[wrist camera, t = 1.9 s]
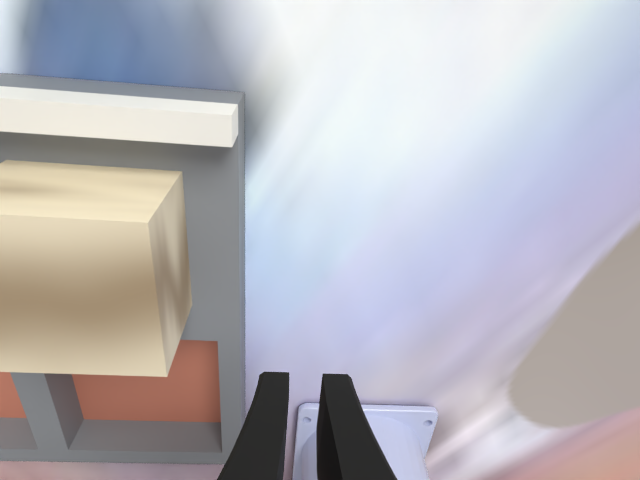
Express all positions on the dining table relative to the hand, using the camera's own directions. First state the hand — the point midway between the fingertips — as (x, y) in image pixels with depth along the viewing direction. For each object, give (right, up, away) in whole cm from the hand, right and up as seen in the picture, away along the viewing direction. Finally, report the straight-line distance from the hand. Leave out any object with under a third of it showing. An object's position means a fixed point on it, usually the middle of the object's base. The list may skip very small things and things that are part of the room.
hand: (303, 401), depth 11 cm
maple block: (-8, +4, +6) cm, 11 cm away
